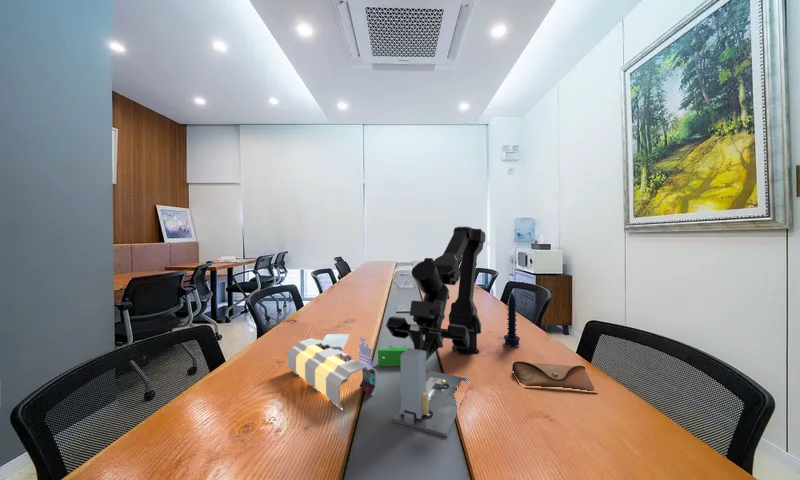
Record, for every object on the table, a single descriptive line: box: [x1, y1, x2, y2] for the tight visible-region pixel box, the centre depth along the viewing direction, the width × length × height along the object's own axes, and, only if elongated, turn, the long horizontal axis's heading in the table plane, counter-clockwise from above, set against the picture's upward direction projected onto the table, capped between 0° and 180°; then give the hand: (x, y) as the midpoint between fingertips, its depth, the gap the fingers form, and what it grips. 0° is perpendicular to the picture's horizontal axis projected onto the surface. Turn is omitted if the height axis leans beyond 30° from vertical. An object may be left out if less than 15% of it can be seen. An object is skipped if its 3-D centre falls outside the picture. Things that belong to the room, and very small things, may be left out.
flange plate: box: [392, 370, 471, 438], centre depth 66 cm, size 22×11×2 cm, turn 155°
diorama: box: [287, 336, 378, 409], centre depth 74 cm, size 25×10×13 cm, turn 44°
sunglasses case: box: [511, 360, 595, 391], centre depth 73 cm, size 18×7×7 cm, turn 81°
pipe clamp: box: [377, 345, 408, 367], centre depth 84 cm, size 11×4×5 cm, turn 89°
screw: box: [503, 291, 521, 347], centre depth 97 cm, size 18×5×5 cm
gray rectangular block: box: [399, 347, 429, 419], centre depth 60 cm, size 4×5×12 cm
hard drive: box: [321, 333, 350, 351], centre depth 100 cm, size 2×8×12 cm
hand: (417, 368), depth 62 cm, fingers closed, pressing on gray rectangular block
